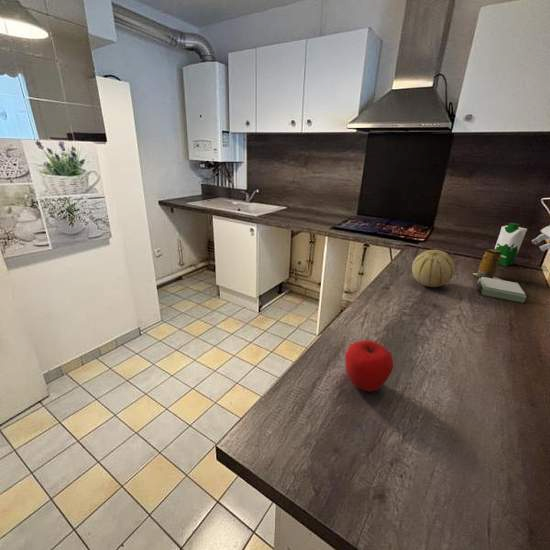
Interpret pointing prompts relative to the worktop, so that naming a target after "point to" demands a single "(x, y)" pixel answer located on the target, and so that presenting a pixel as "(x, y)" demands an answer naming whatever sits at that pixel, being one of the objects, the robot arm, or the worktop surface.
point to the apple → (368, 365)
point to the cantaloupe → (433, 268)
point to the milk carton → (509, 243)
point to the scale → (501, 289)
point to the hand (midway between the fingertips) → (536, 246)
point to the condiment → (489, 264)
